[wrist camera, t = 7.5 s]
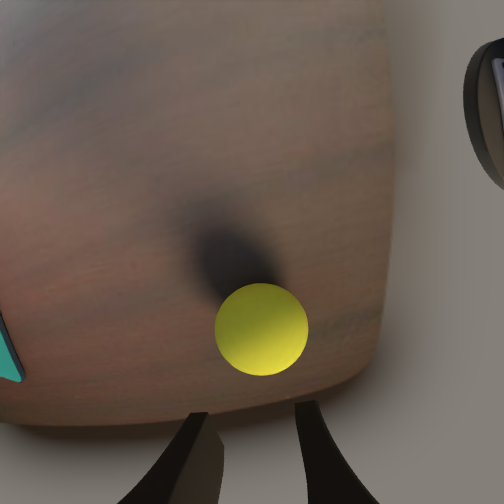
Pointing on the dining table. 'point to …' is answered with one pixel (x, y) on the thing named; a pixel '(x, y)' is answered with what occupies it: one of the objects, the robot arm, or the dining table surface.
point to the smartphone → (9, 358)
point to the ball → (261, 329)
